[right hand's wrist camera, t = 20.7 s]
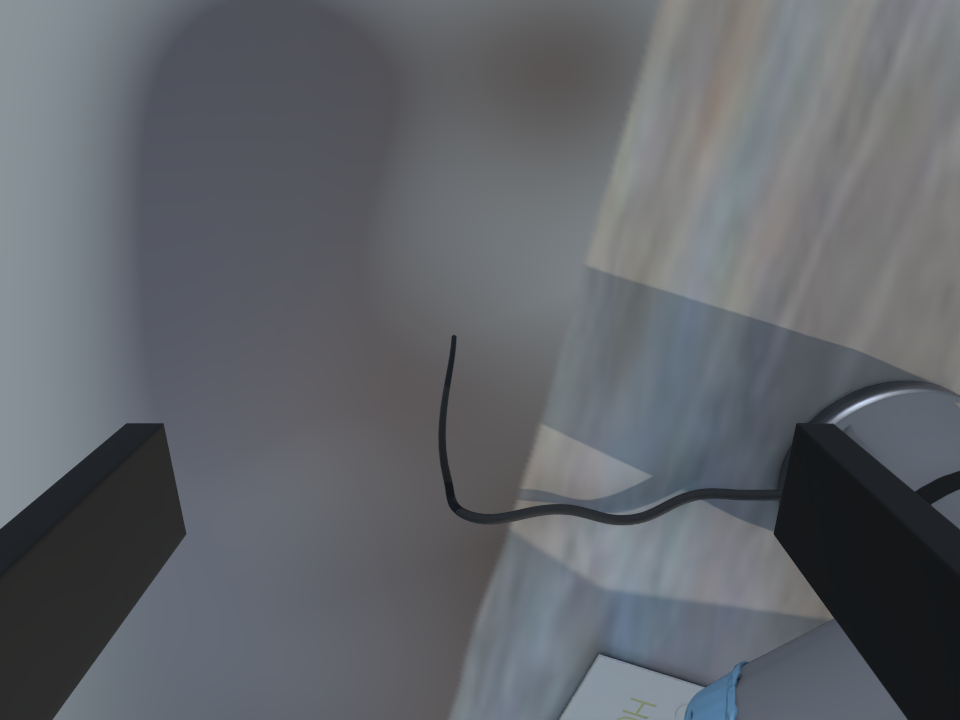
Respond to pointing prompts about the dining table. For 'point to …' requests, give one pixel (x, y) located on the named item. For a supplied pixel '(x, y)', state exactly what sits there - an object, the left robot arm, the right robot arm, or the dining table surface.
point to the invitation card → (628, 694)
